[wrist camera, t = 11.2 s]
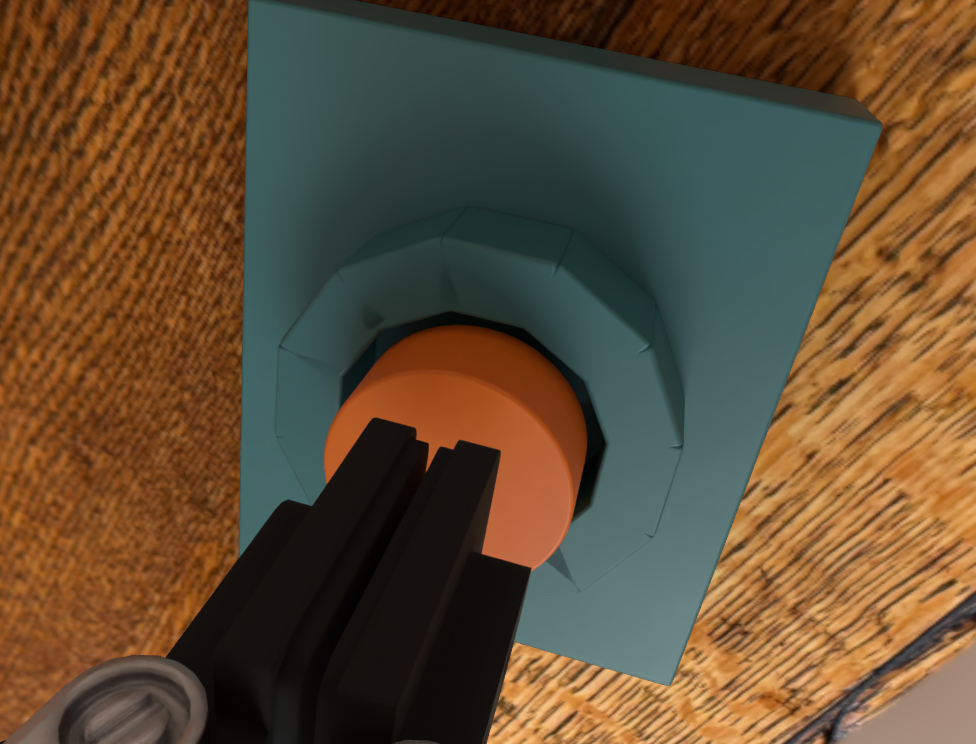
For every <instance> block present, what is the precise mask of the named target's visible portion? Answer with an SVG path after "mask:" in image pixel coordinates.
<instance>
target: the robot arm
mask: <svg viewBox="0 0 976 744" xmlns="http://www.w3.org/2000/svg"><path fill="white" fill-rule="evenodd" d="M428 454H429V444H428V443H427V442H424V441H420V440H417V430H416V428H415V427H411V426H407V425H404V424H400V423H396V422H392V421H388V420H385V419H381V418H377V417H374V418H372V419H371V421H370V422H369V423H368V425H367V426H366V428H365V429H364V430H363V432H362V433H361V435H360V436H359V438H358V439H357V441H356V442H355V444H354V445H353V447H352V448H351V450H350V451H349V453H348V454H347V455H346V457H345V458H344V460H343V461H342V463H341V464H340V466H339V467H338V469H337V470H336V472H335V473H334V475H333V476H332V478H331V479H330V480H329V482H328V483H327V485H326V486H325V488H324V489H323V491H322V492H321V494H320V495H319V497H318V498H317V500H316V501H315V503H314V504H313V505H312V506H310V505H307V504H303V503H300V502H296V501H293V500H289V499H287V500H285V501H283V502H281V504H280V505H279V506H278V507H277V508H276V509H275V510H274V511H273V513H272V514H271V516H270V517H269V518H268V520H267V521H266V522H265V524H264V525H263V526H262V528H261V529H260V530H259V532H258V533H257V535H256V536H255V537H254V539H253V540H252V541H251V543H250V544H249V545H248V547H247V548H246V549H245V551H244V552H243V553H242V555H241V556H240V558H239V559H238V560H237V562H236V563H235V564H234V566H233V567H232V568H231V570H230V571H229V572H228V574H227V575H226V576H225V578H224V579H223V581H222V582H221V583H220V585H219V586H218V587H217V589H216V590H215V591H214V593H213V594H212V595H211V597H210V598H209V599H208V601H207V602H206V604H205V605H204V606H203V608H202V609H201V610H200V612H199V613H198V614H197V616H196V617H195V618H194V620H193V621H192V623H191V624H190V625H189V627H188V628H187V629H186V631H185V632H184V633H183V635H182V636H181V637H180V639H179V640H178V641H177V643H176V644H175V646H174V647H173V648H172V650H171V651H170V652H169V654H168V655H167V656H166V658H164V657H161V656H155V655H131V656H126V657H121V658H116V659H112V660H108V661H106V662H104V663H101V664H99V665H97V666H95V667H92V668H90V669H88V670H86V671H84V672H83V673H82V674H80V675H79V676H77V677H76V678H75V679H73V680H72V681H71V682H69V683H68V684H67V685H65V686H64V687H63V688H62V689H61V690H60V691H59V692H58V693H57V694H55V695H54V696H53V697H52V698H51V699H50V700H49V701H48V702H47V703H46V704H45V705H44V706H43V707H41V708H40V709H39V710H38V711H37V712H36V713H35V714H34V715H33V716H32V717H31V718H30V719H29V720H28V721H26V722H25V723H24V724H23V725H22V726H21V727H20V728H19V729H18V730H17V731H16V732H15V733H14V734H12V735H11V736H10V737H9V738H8V739H7V740H5V741H2V742H0V744H486V743H487V740H488V736H489V733H490V729H491V725H492V722H493V718H494V714H495V711H496V707H497V703H498V700H499V696H500V692H501V689H502V685H503V681H504V678H505V674H506V670H507V667H508V663H509V659H510V655H511V652H512V648H513V644H514V640H515V636H516V632H517V628H518V624H519V620H520V616H521V612H522V608H523V604H524V599H525V595H526V591H527V587H528V583H529V578H530V574H531V569H532V568H530V567H527V566H523V565H520V564H516V563H513V562H509V561H506V560H502V559H498V558H495V557H491V556H488V555H484V554H482V550H483V545H484V540H485V535H486V529H487V524H488V519H489V514H490V509H491V504H492V499H493V494H494V489H495V483H496V478H497V473H498V468H499V463H500V457H501V450H498V449H494V448H491V447H487V446H483V445H479V444H475V443H472V442H468V441H464V440H458V442H457V443H456V445H455V447H454V449H450V448H446V447H442V446H440V447H439V449H438V450H437V452H436V454H435V456H434V458H433V460H432V462H431V464H430V466H429V468H428V469H427V471H426V468H427V461H428Z"/></svg>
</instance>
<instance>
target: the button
mask: <svg viewBox="0 0 976 744" xmlns="http://www.w3.org/2000/svg"><path fill="white" fill-rule="evenodd" d="M374 417H377V418H381V419H385V420H388V421H392V422H396V423H400V424H404V425H407V426H411V427H415V428H416V430H417V440H420V441H424V442H427V443H428V444H429V454H428V461H427V468H426V471H427V469H428V468H429V466H430V464H431V462H432V460H433V458H434V456H435V454H436V452H437V450H438V449H439V447H440V446H442V447H446V448H450V449H454V447H455V445H456V443H457V442H458V440H464V441H468V442H472V443H475V444H479V445H483V446H487V447H491V448H494V449H498V450H501V457H500V463H499V468H498V473H497V478H496V483H495V489H494V494H493V499H492V504H491V509H490V514H489V519H488V524H487V529H486V535H485V540H484V545H483V550H482V554H484V555H488V556H491V557H495V558H498V559H502V560H506V561H509V562H513V563H516V564H520V565H523V566H527V567H530V568H532V569H531V571H533V570H534V569H536V568H537V567H539V566H540V565H541V564H543V563H544V562H545V561H546V560H547V559H548V558H549V557H550V556H551V555H552V554H553V553H554V552H555V550H556V549H557V548H558V547H559V545H560V544H561V542H562V541H563V539H564V537H565V535H566V533H567V532H568V529H569V526H570V523H571V520H572V517H573V512H574V508H575V503H576V499H577V494H578V490H579V485H580V481H581V476H582V472H583V467H584V463H585V457H586V452H587V430H586V423H585V419H584V415H583V411H582V408H581V406H580V403H579V401H578V399H577V397H576V394H575V393H574V391H573V389H572V388H571V386H570V385H569V383H568V381H567V380H566V379H565V378H564V376H563V375H562V374H561V373H560V371H559V370H558V369H557V368H556V367H555V366H554V365H553V364H552V363H551V362H550V361H549V360H548V359H547V358H546V357H545V356H543V355H542V354H541V353H539V352H538V351H537V350H535V349H534V348H533V347H531V346H529V345H528V344H526V343H524V342H523V341H521V340H519V339H517V338H515V337H512V336H510V335H508V334H505V333H503V332H499V331H496V330H493V329H490V328H484V327H479V326H473V325H445V326H438V327H433V328H428V329H425V330H422V331H419V332H416V333H413V334H411V335H409V336H407V337H405V338H403V339H401V340H400V341H398V342H397V343H396V344H394V345H393V346H392V347H390V348H389V349H388V350H387V351H386V352H385V353H384V354H383V355H382V356H381V357H380V358H379V359H378V360H377V362H376V363H375V364H374V366H373V367H372V368H371V369H370V371H369V372H368V373H367V375H366V376H365V377H364V378H363V380H362V381H361V382H360V384H359V385H358V386H357V387H356V389H355V390H354V391H353V393H352V394H351V395H350V396H349V398H348V399H347V400H346V402H345V403H344V404H343V406H342V407H341V408H340V410H339V411H338V412H337V414H336V416H335V418H334V420H333V422H332V423H331V425H330V428H329V432H328V435H327V438H326V443H325V450H324V470H325V477H326V483H328V482H329V480H330V479H331V478H332V476H333V475H334V473H335V472H336V470H337V469H338V467H339V466H340V464H341V463H342V461H343V460H344V458H345V457H346V455H347V454H348V453H349V451H350V450H351V448H352V447H353V445H354V444H355V442H356V441H357V439H358V438H359V436H360V435H361V433H362V432H363V430H364V429H365V428H366V426H367V425H368V423H369V422H370V421H371V419H372V418H374Z"/></svg>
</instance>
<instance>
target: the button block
mask: <svg viewBox="0 0 976 744" xmlns="http://www.w3.org/2000/svg"><path fill="white" fill-rule="evenodd" d="M881 131H882V123H881V122H880V121H879V120H878V119H877V118H876V117H875V116H874V115H873V114H872V113H871V112H870V111H869V110H868V109H867V108H866V107H865V106H863V105H862V104H861V103H860V102H859V101H858V100H857V99H853V98H848V97H843V96H838V95H833V94H828V93H823V92H818V91H813V90H807V89H802V88H797V87H792V86H787V85H782V84H777V83H772V82H767V81H762V80H757V79H752V78H747V77H742V76H737V75H731V74H726V73H721V72H716V71H711V70H706V69H701V68H696V67H691V66H686V65H681V64H676V63H671V62H666V61H661V60H655V59H650V58H645V57H640V56H635V55H630V54H625V53H620V52H615V51H610V50H605V49H600V48H595V47H590V46H585V45H579V44H574V43H569V42H564V41H559V40H554V39H549V38H544V37H539V36H534V35H529V34H524V33H519V32H514V31H509V30H503V29H498V28H493V27H488V26H483V25H478V24H473V23H468V22H463V21H458V20H453V19H448V18H443V17H438V16H433V15H427V14H422V13H417V12H412V11H407V10H402V9H397V8H392V7H387V6H382V5H377V4H372V3H367V2H362V1H357V0H249V1H248V53H247V110H246V167H245V224H244V281H243V338H242V395H241V453H240V510H239V558H240V556H241V555H242V553H243V552H244V551H245V549H246V548H247V547H248V545H249V544H250V543H251V541H252V540H253V539H254V537H255V536H256V535H257V533H258V532H259V530H260V529H261V528H262V526H263V525H264V524H265V522H266V521H267V520H268V518H269V517H270V516H271V514H272V513H273V511H274V510H275V509H276V508H277V507H278V506H279V505H280V504H281V502H283V501H285V500H287V499H289V500H293V501H296V502H300V503H303V504H307V505H310V506H312V505H313V504H314V503H315V501H316V500H317V498H318V497H319V495H320V494H321V492H322V491H323V489H324V488H325V486H326V485H327V483H326V477H325V470H324V450H325V443H326V438H327V435H328V432H329V428H330V425H331V423H332V422H333V420H334V418H335V416H336V414H337V412H338V411H339V410H340V408H341V407H342V406H343V404H344V403H345V402H346V400H347V399H348V398H349V396H350V395H351V394H352V393H353V391H354V390H355V389H356V387H357V386H358V385H359V384H360V382H361V381H362V380H363V378H364V377H365V376H366V375H367V373H368V372H369V371H370V369H371V368H372V367H373V366H374V364H375V363H376V362H377V360H378V359H379V358H380V357H381V356H382V355H383V354H384V353H385V352H386V351H387V350H388V349H389V348H390V347H392V346H393V345H394V344H396V343H397V342H398V341H400V340H401V339H403V338H405V337H407V336H409V335H411V334H413V333H416V332H419V331H422V330H425V329H428V328H433V327H438V326H445V325H473V326H479V327H484V328H490V329H493V330H496V331H499V332H503V333H505V334H508V335H510V336H512V337H515V338H517V339H519V340H521V341H523V342H524V343H526V344H528V345H529V346H531V347H533V348H534V349H535V350H537V351H538V352H539V353H541V354H542V355H543V356H545V357H546V358H547V359H548V360H549V361H550V362H551V363H552V364H553V365H554V366H555V367H556V368H557V369H558V370H559V371H560V373H561V374H562V375H563V376H564V378H565V379H566V380H567V381H568V383H569V385H570V386H571V388H572V389H573V391H574V393H575V394H576V397H577V399H578V401H579V403H580V406H581V408H582V411H583V415H584V419H585V423H586V430H587V452H586V457H585V463H584V467H583V472H582V476H581V481H580V485H579V490H578V494H577V499H576V503H575V508H574V512H573V517H572V520H571V523H570V526H569V529H568V532H567V533H566V535H565V537H564V539H563V541H562V542H561V544H560V545H559V547H558V548H557V549H556V550H555V552H554V553H553V554H552V555H551V556H550V557H549V558H548V559H547V560H546V561H545V562H544V563H543V564H541V565H540V566H539V567H537V568H536V569H534V570H533V571H531V574H530V578H529V583H528V587H527V591H526V595H525V599H524V604H523V608H522V612H521V616H520V620H519V624H518V628H517V632H516V636H515V640H514V642H517V643H520V644H524V645H527V646H530V647H534V648H537V649H541V650H544V651H548V652H551V653H555V654H558V655H562V656H565V657H569V658H572V659H576V660H579V661H582V662H586V663H589V664H593V665H596V666H600V667H603V668H607V669H610V670H614V671H617V672H621V673H624V674H627V675H631V676H634V677H638V678H641V679H645V680H648V681H652V682H655V683H659V684H662V685H666V686H670V685H671V684H672V682H673V679H674V677H675V674H676V672H677V669H678V666H679V664H680V661H681V658H682V656H683V653H684V650H685V648H686V645H687V642H688V640H689V637H690V635H691V632H692V629H693V627H694V624H695V621H696V619H697V616H698V613H699V611H700V608H701V606H702V603H703V600H704V598H705V595H706V592H707V590H708V587H709V584H710V582H711V579H712V577H713V574H714V571H715V569H716V566H717V563H718V561H719V558H720V555H721V553H722V550H723V548H724V545H725V542H726V540H727V537H728V534H729V532H730V529H731V526H732V524H733V521H734V519H735V516H736V513H737V511H738V508H739V505H740V503H741V500H742V497H743V495H744V492H745V490H746V487H747V484H748V482H749V479H750V476H751V474H752V471H753V468H754V466H755V463H756V461H757V458H758V455H759V453H760V450H761V447H762V445H763V442H764V439H765V437H766V434H767V432H768V429H769V426H770V424H771V421H772V418H773V416H774V413H775V410H776V408H777V405H778V403H779V400H780V397H781V395H782V392H783V389H784V387H785V384H786V381H787V379H788V376H789V374H790V371H791V368H792V366H793V363H794V360H795V358H796V355H797V352H798V350H799V347H800V344H801V342H802V339H803V337H804V334H805V331H806V329H807V326H808V323H809V321H810V318H811V315H812V313H813V310H814V308H815V305H816V302H817V300H818V297H819V294H820V292H821V289H822V286H823V284H824V281H825V279H826V276H827V273H828V271H829V268H830V265H831V263H832V260H833V257H834V255H835V252H836V250H837V247H838V244H839V242H840V239H841V236H842V234H843V231H844V228H845V226H846V223H847V221H848V218H849V215H850V213H851V210H852V207H853V205H854V202H855V199H856V197H857V194H858V192H859V189H860V186H861V184H862V181H863V178H864V176H865V173H866V170H867V168H868V165H869V163H870V160H871V157H872V155H873V152H874V149H875V147H876V144H877V141H878V139H879V136H880V134H881Z"/></svg>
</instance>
